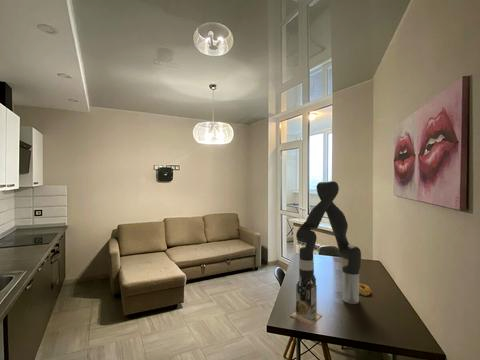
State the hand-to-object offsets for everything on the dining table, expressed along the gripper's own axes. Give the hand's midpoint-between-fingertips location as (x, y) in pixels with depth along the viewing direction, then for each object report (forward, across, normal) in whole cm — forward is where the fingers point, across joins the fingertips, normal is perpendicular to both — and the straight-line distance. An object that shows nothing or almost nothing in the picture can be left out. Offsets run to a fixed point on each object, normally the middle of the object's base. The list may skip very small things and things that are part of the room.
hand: (306, 297), depth 136 cm
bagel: (+11, -52, +11) cm, 54 cm away
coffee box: (+9, 0, 0) cm, 9 cm away
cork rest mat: (+10, 0, 0) cm, 10 cm away
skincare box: (+10, -14, -7) cm, 19 cm away
